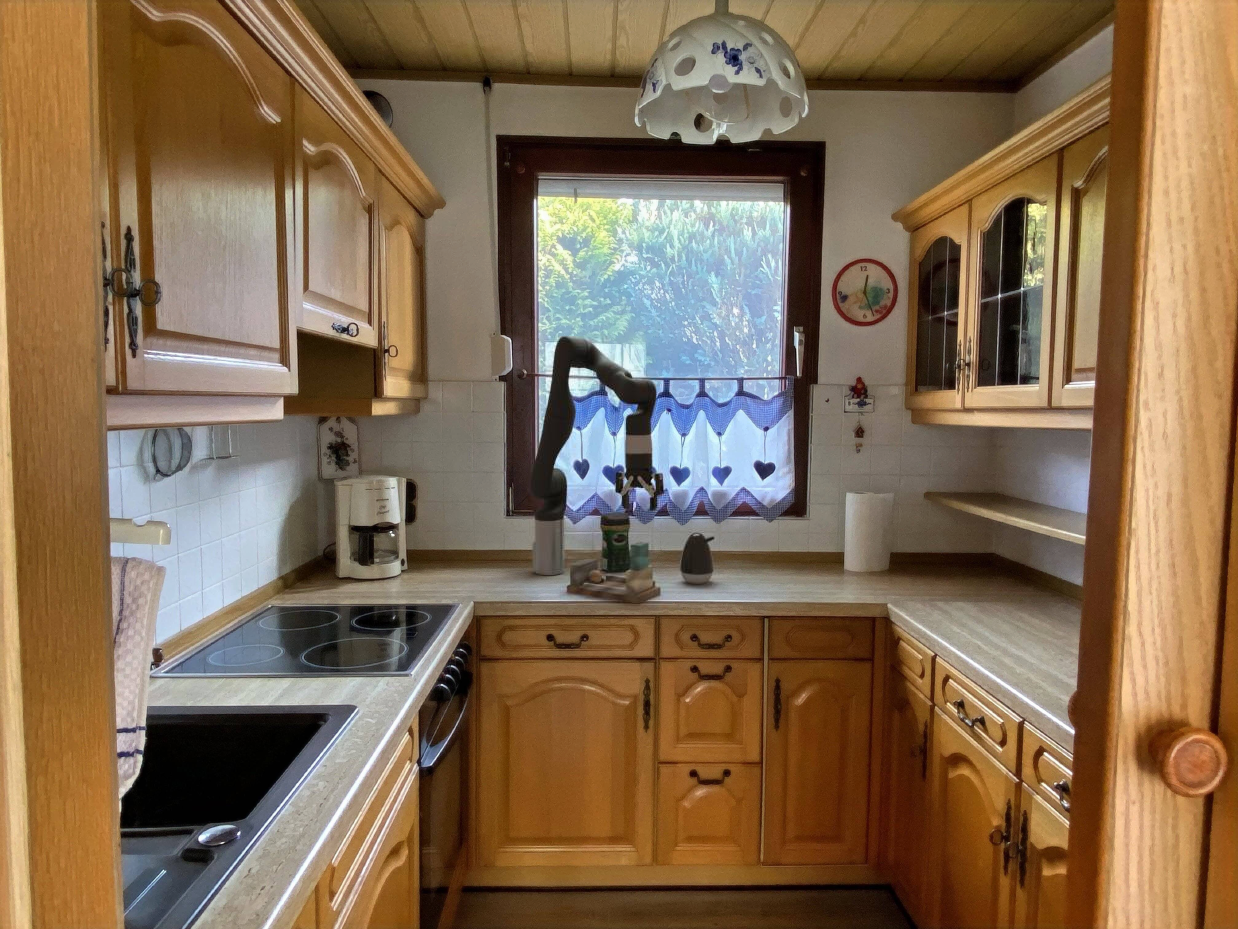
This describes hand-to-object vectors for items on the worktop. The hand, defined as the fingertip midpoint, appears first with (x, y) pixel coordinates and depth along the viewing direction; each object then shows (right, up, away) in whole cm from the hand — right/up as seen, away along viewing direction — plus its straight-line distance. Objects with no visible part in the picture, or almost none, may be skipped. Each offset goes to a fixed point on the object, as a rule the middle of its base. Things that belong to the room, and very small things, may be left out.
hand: (639, 509), depth 215 cm
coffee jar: (-7, -22, +36) cm, 42 cm away
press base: (-7, -24, +6) cm, 26 cm away
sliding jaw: (0, -22, +1) cm, 22 cm away
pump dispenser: (+18, -23, +19) cm, 35 cm away
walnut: (-13, -22, +9) cm, 27 cm away
